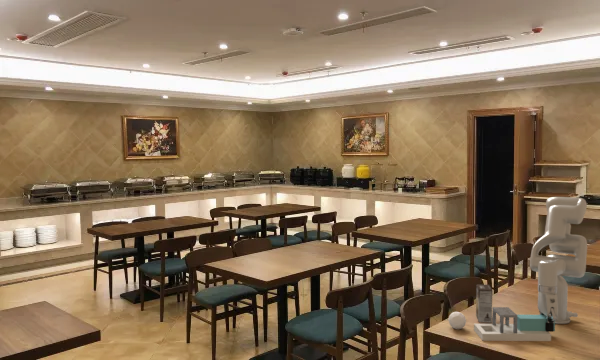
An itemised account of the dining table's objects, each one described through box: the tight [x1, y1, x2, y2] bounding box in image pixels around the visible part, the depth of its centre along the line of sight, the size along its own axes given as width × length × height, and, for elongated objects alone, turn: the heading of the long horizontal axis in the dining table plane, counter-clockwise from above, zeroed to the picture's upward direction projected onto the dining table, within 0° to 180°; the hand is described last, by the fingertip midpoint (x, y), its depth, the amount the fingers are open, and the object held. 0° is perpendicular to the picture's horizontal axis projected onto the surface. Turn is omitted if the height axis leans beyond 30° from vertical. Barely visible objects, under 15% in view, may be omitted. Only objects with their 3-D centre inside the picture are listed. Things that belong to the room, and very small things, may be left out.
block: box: [517, 314, 556, 332], centre depth 213 cm, size 15×5×6 cm, turn 87°
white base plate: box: [473, 323, 552, 342], centre depth 214 cm, size 29×12×3 cm, turn 87°
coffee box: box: [475, 284, 493, 324], centre depth 234 cm, size 9×6×16 cm
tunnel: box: [491, 306, 518, 333], centre depth 214 cm, size 7×10×8 cm
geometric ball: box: [447, 311, 467, 330], centre depth 223 cm, size 8×8×8 cm
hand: (546, 328), depth 213 cm, fingers closed on block, 5 cm apart
